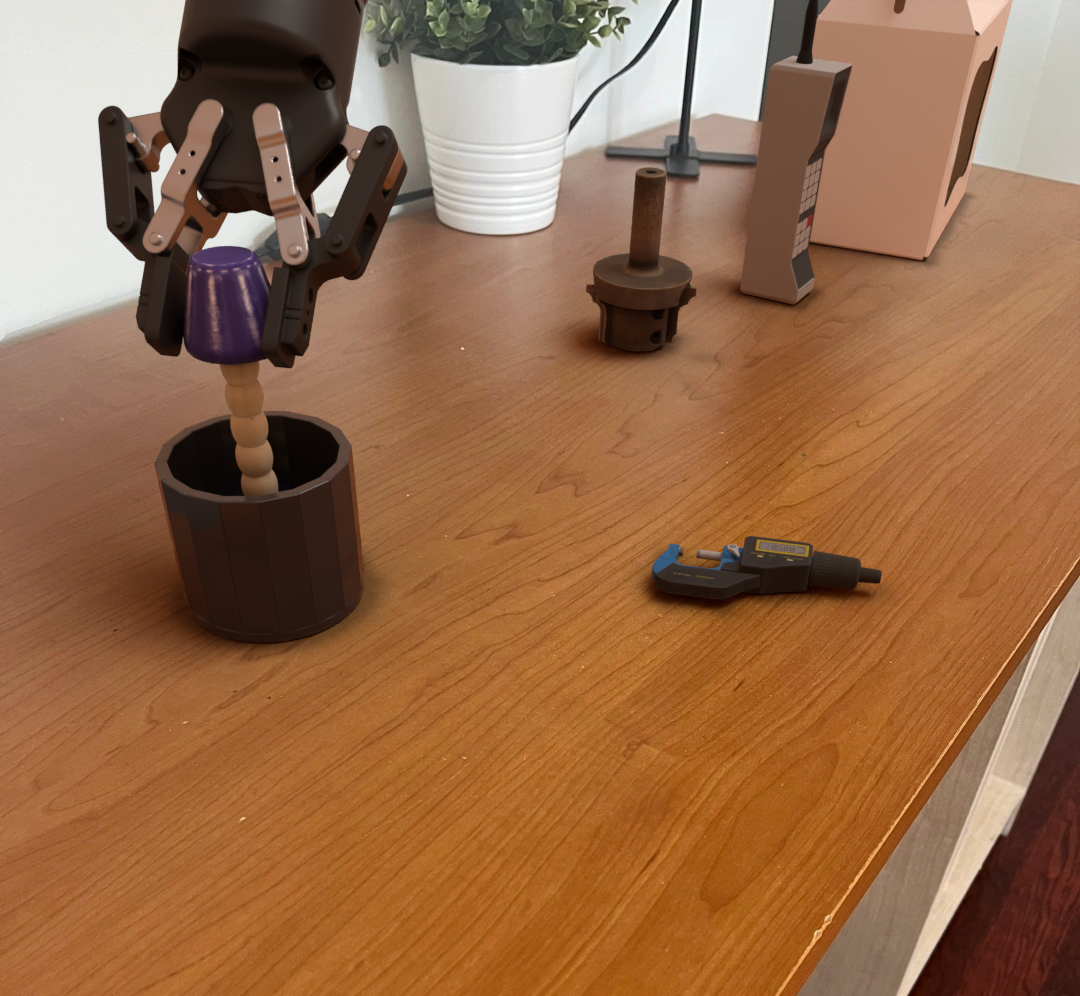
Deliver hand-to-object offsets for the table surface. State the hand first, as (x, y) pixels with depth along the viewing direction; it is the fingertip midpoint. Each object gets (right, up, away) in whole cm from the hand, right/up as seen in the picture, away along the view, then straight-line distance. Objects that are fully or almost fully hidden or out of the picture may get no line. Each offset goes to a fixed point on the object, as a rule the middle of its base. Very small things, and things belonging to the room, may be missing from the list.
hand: (219, 353), depth 49 cm
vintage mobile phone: (+34, +19, +44) cm, 59 cm away
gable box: (+47, +33, +60) cm, 83 cm away
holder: (0, -9, +10) cm, 14 cm away
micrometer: (+26, -9, +12) cm, 30 cm away
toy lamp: (0, -9, +10) cm, 13 cm away
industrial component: (+22, +12, +36) cm, 44 cm away
